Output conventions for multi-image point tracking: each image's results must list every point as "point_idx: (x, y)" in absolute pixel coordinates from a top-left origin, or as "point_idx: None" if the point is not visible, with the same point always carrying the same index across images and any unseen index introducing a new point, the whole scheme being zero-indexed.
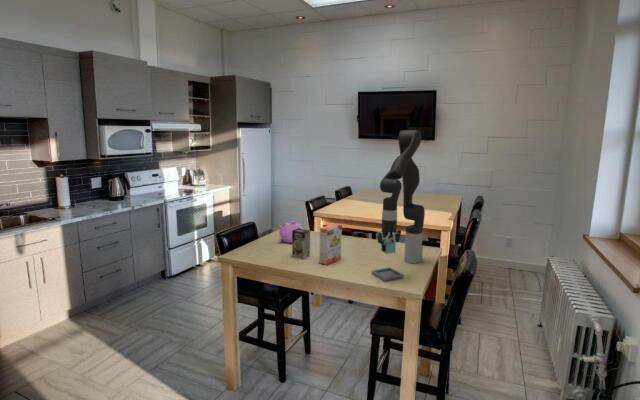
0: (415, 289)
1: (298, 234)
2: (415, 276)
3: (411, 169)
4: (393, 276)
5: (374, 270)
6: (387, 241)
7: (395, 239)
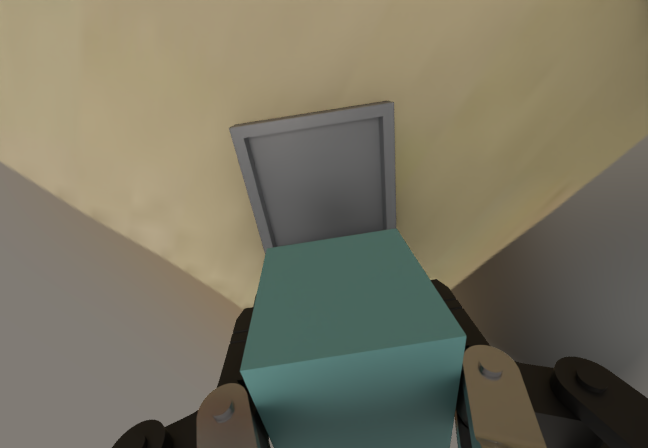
0: None
1: None
2: (463, 230)
3: None
4: None
5: (251, 128)
6: (373, 377)
7: (555, 436)
